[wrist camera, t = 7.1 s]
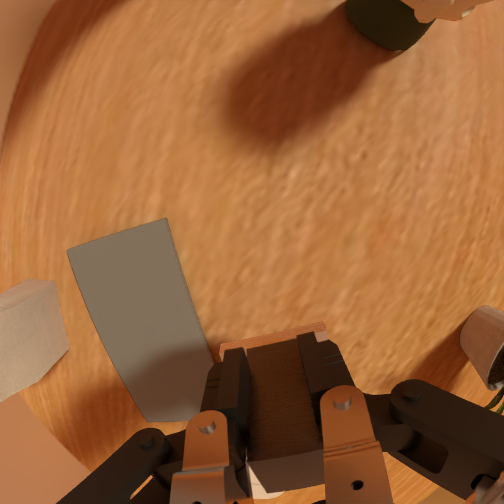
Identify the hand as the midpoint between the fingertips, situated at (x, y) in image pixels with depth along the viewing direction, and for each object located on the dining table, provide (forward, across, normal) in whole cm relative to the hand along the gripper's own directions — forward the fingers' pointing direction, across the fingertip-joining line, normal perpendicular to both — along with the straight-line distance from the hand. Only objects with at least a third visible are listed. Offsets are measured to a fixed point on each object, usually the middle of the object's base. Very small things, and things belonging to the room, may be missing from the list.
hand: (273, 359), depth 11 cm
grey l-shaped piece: (+3, 0, +6) cm, 7 cm away
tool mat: (+9, +10, +3) cm, 14 cm away
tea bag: (+10, +20, -1) cm, 23 cm away
